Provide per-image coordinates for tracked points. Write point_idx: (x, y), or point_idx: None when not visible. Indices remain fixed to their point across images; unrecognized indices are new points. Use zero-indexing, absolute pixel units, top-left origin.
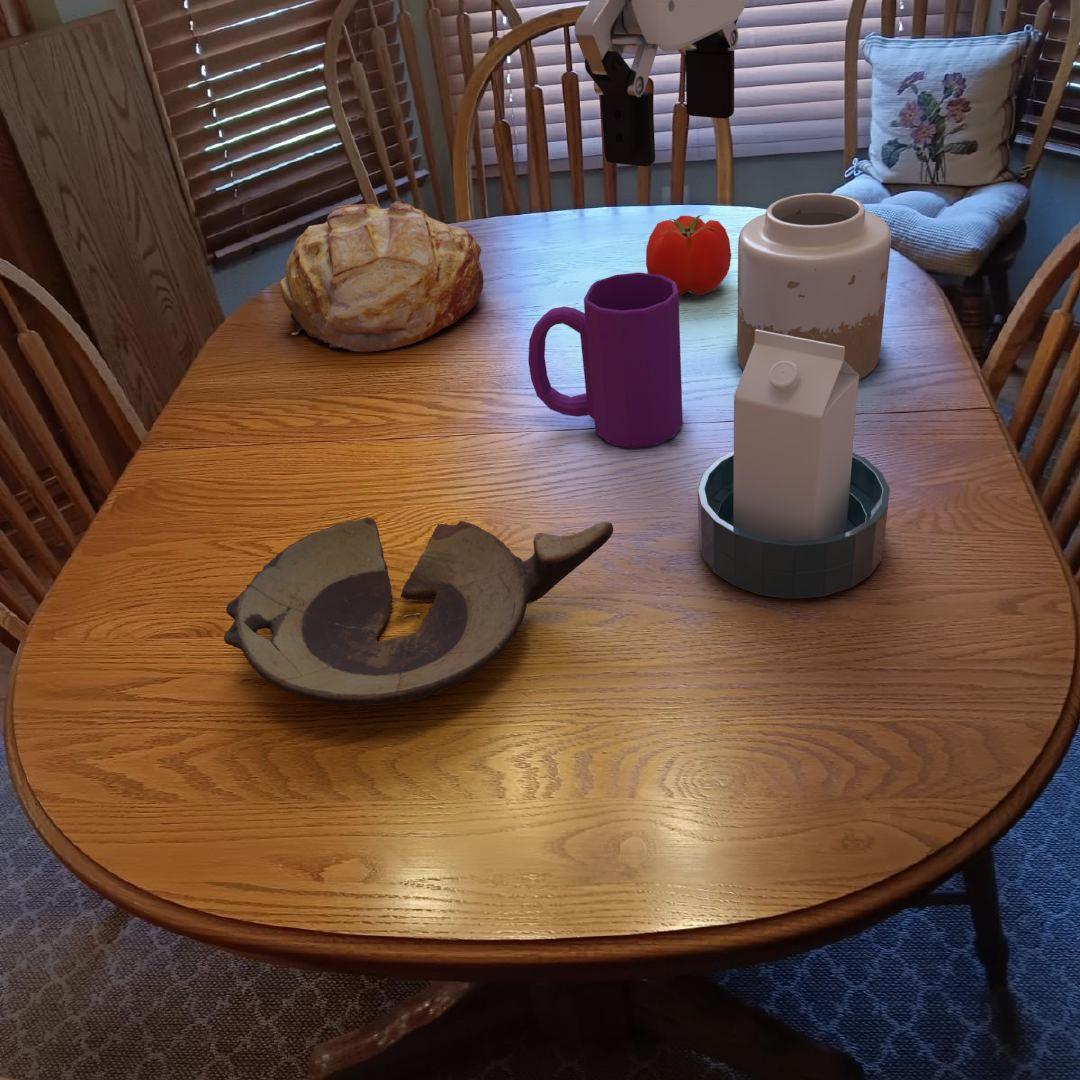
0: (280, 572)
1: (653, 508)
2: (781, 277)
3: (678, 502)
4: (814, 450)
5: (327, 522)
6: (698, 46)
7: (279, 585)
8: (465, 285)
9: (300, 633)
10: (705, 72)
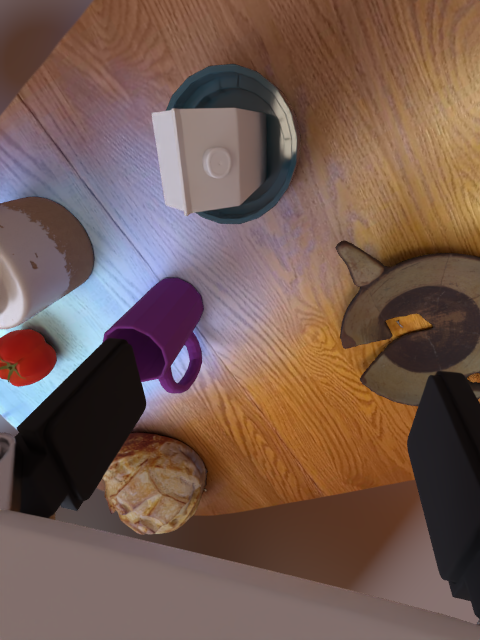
0: None
1: (245, 252)
2: (34, 275)
3: (232, 242)
4: (245, 114)
5: (340, 401)
6: (59, 499)
7: None
8: (134, 445)
9: (460, 363)
10: (94, 438)
